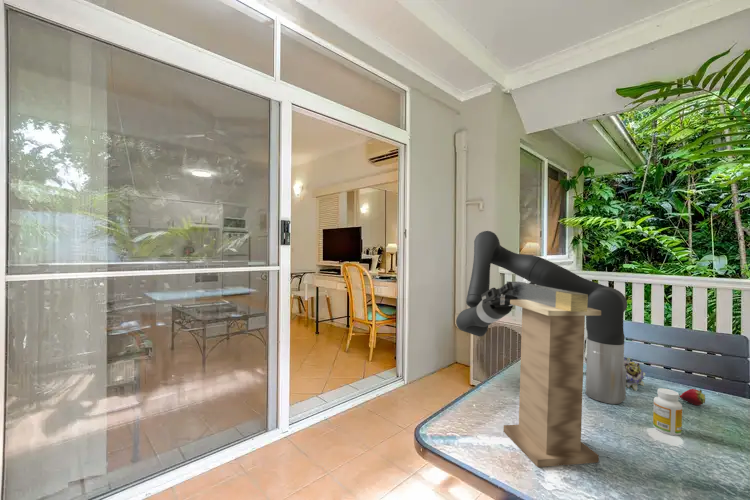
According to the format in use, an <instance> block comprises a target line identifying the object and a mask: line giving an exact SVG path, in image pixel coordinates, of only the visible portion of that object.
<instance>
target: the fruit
mask: <svg viewBox="0 0 750 500" xmlns="http://www.w3.org/2000/svg"><path fill="white" fill-rule="evenodd" d="M679 398H680V399H681V400H683V402H684V401H685V402H686V401H687V403H688V404H691V403H692V405H693V406H701V405H702V406H703V405H704V404H705V403H706V396H705V393H703V390H702V389H699V390H698V389H696V388H690V389H688V390H685V391H684V392H682V393H681V394H679Z"/></svg>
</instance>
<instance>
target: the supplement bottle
mask: <svg viewBox="0 0 750 500" xmlns="http://www.w3.org/2000/svg"><path fill="white" fill-rule="evenodd" d="M679 398H680V394H679V392H677V391H675V390H672V389H668V388H663V387H662V388H660V387H659V388H657V396H655V397H654V398H653V411H652V414H653V417H652V426H653V428H655V429H656V430H657V431H659V432H661V433H663V434H667V435H669V436H681V435H682V432H683V431H682V427H683V405H682V402H680V401H679V400H680V399H679Z"/></svg>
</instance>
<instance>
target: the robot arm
mask: <svg viewBox="0 0 750 500" xmlns="http://www.w3.org/2000/svg"><path fill="white" fill-rule="evenodd" d="M499 239H500V238H499V237H498V235H496V233H494V232H493V231H489V230H483V231H481V232H479V233H478V234H477V235H476V236H475V237H474V241H473V243H474V244H473V245H474V246H473V261H472V262H473V263H472V270H471V276H470V281H469V286H468V290H467V297H466V300H465V302H466V303H465V304H466V306H468V307H469V308H466V309H465V308H464V309H463V310H461V311H460V312H459V313H458V315H457V317H456V321H455V323H456V324H455V325H456V327H457V329H459V330H460V331H462V332H465V333H467V334H470V335H473V336H475V337H483V336H485V335H486V333H487V332H488V329H489V326H490V325H492V324H493V323H495V322H497V321H499V320H500V319H502V318H503V317H505V316H507V315H508V314H509V313H510V312H512V309H513V306H514V305H513V304H510V300H526V299H522V298H518V297H515V296H511V295H507V294H508V293H509V292H511V291H512V290H513V285H512V282H513V281H509V282H508V283H507V282H506V283H504V284H503V285H502V286H499V287H498V288H496V287H492V288H490V282H491V281H490V280H491V264H492V265H494V266H496V267H500V268H502V269H504V270H507V271H509V272H510V273H513V274H514V275H516V276H519V277H521V278H522V279H524V280H526V281H528V282H529V284H534V285H539V286H545V287H550V288H556V289H561V290H566V291H572V292H577V293H583V294H588V301H587V307H588V308H592V309H596V310H601V315H599V316H585V328H586V332H587V334H586V335H587V338H586V339H587V341H586V371H585V372H586V373H585V395H586V396H587V397H588V398H591V399H593V400H595V401H598V402H601V403H604V404H605V403H606V404H610V405H611V404H613V405H616V404H617V405H618V404H622V403H623V402H625V401H626V396H627V395H626V394H627V393H626V392H627V387H626V369H625V368H624V358H625V340H626V339H625V337H626V336H625V332H624V318H625V317H624V313H625V312H626V309H627V307H628V301H627V298H626V297H625V295H624V293H622V292H621V291H619V290H618V289H616V288H613V287H610V286H607V285H604V284H601V283H599V282H596V281H593V280H592V281H591V280H589V279H587V278H584V277H582V276H580V275H578V274H576V273H574V272H572V271H570V270H568V269H566V268H565V267H563V266H561V265H558V264H556V263H554V262H553V261H550V260H549V259H545V258H543V257H541V256H537V255H533V254H522V253H521V254H520V253H516V252H514V251H511V250H509V249H507V248H505V247H504V246H502V245H501V243H500V240H499Z"/></svg>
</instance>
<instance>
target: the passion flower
mask: <svg viewBox="0 0 750 500" xmlns="http://www.w3.org/2000/svg"><path fill="white" fill-rule="evenodd" d="M640 365H641V364H640V363H639V362H638V363H635V361H633V360H631V358H630V357H624V368H625V369H626V389H629V388H630V389H631V390H633V391H634V392H636V391H637V390H638V385H640V386H642V387H645V383H644V381H645V376H646V372H644V371H643V370H642V369H641V366H640Z"/></svg>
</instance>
